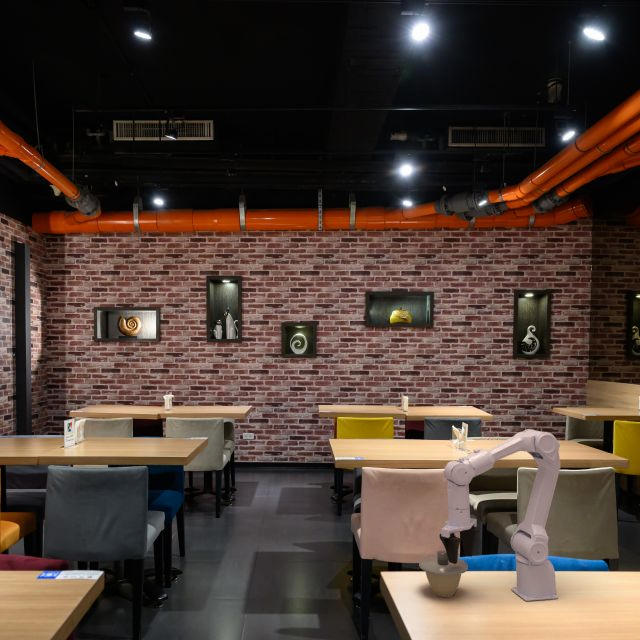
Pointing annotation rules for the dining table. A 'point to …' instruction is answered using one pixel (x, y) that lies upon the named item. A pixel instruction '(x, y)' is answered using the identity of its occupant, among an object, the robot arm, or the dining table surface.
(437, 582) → the flower pot
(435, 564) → the lid
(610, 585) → the dining table surface
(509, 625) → the dining table surface
